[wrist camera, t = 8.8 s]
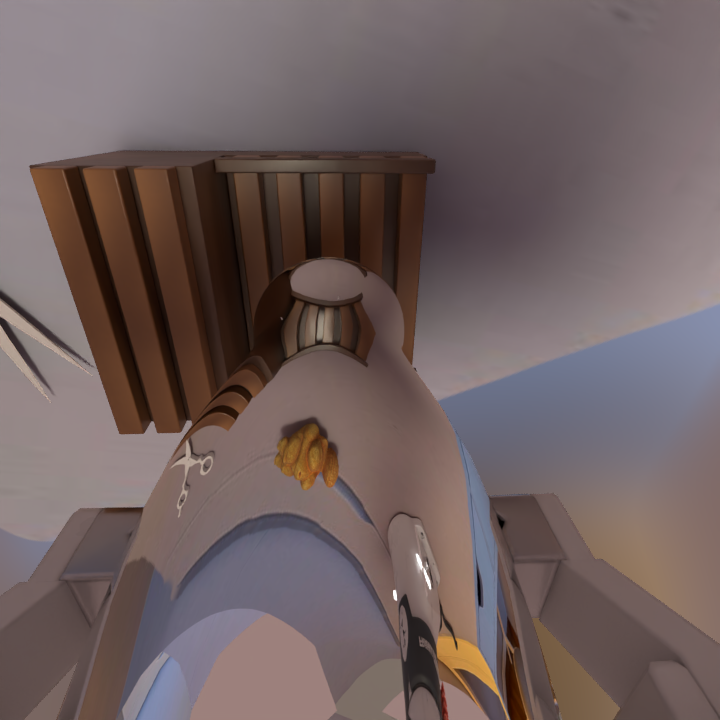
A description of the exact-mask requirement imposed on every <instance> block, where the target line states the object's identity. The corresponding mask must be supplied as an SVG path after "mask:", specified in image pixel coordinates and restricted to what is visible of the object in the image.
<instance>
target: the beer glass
mask: <svg viewBox="0 0 720 720" xmlns="http://www.w3.org/2000/svg"><path fill="white" fill-rule="evenodd" d="M253 335H254V348H253V349H252V351H251V352H250V353H249V355H248V356H247V357H246V358H245V359H244V360H243V362H242V363H241V364H240V365H239V366H238V367H237V369H236V370H235V371H234V372H233V373H232V374H231V376H230V377H229V378H228V379H227V380H226V382H225V383H224V384H223V385H222V387H221V388H220V389H219V390H218V391H217V393H216V394H215V395H214V396H213V398H212V399H211V400H210V401H209V402H208V404H207V405H206V406H205V408H204V409H203V410H202V412H201V413H200V415H199V416H198V418H197V419H196V420H195V422H194V423H193V425H192V426H191V428H190V429H189V430H188V432H187V433H186V435H185V436H184V438H183V439H182V440H181V442H180V443H179V445H178V446H177V448H176V449H175V451H174V453H173V454H172V456H171V458H170V460H169V462H168V464H167V465H166V467H165V469H164V471H163V473H162V475H161V477H160V478H159V480H158V482H157V484H156V486H155V488H154V490H153V491H152V493H151V495H150V497H149V499H148V501H147V503H146V504H145V506H144V508H143V510H142V512H141V514H140V517H139V519H138V521H137V523H136V525H135V528H134V530H133V532H132V534H131V537H130V539H129V541H128V543H127V546H126V548H125V550H124V552H123V554H122V557H121V559H120V561H119V563H118V566H117V568H116V570H115V572H114V574H113V577H112V579H111V581H110V583H109V586H108V588H107V591H106V593H105V596H104V598H103V601H102V603H101V606H100V608H99V611H98V613H97V616H96V618H95V621H94V623H93V626H92V628H91V631H90V633H89V636H88V638H87V641H86V643H85V646H84V648H83V651H82V653H81V656H80V658H79V661H78V663H77V666H76V669H75V671H74V674H73V677H72V679H71V682H70V685H69V688H68V690H67V693H66V695H65V698H64V700H63V703H62V706H61V708H60V711H59V714H58V716H57V719H56V720H562V717H561V714H560V711H559V707H558V704H557V700H556V697H555V693H554V690H553V687H552V683H551V680H550V676H549V673H548V670H547V666H546V663H545V659H544V656H543V653H542V649H541V647H540V643H539V640H538V637H537V634H536V630H535V627H534V624H533V621H532V618H531V614H530V611H529V608H528V605H527V602H526V598H525V595H524V592H523V589H522V586H521V582H520V579H519V576H518V573H517V571H516V568H515V565H514V562H513V560H512V557H511V554H510V551H509V549H508V546H507V543H506V540H505V537H504V535H503V532H502V529H501V526H500V524H499V521H498V518H497V515H496V513H495V510H494V508H493V506H492V503H491V501H490V499H489V497H488V494H487V492H486V490H485V488H484V485H483V483H482V481H481V479H480V477H479V474H478V472H477V470H476V467H475V465H474V463H473V461H472V459H471V457H470V454H469V453H468V451H467V449H466V447H465V446H464V444H463V442H462V441H461V439H460V438H459V436H458V434H457V432H456V431H455V429H454V427H453V426H452V424H451V422H450V420H449V419H448V417H447V415H446V414H445V412H444V410H443V409H442V407H441V406H440V405H439V403H438V402H437V400H436V399H435V397H434V396H433V395H432V393H431V392H430V390H429V389H428V387H427V386H426V385H425V383H424V382H423V380H422V379H421V378H420V376H419V375H418V373H417V372H416V371H415V369H414V368H413V367H412V365H411V364H410V362H409V361H408V359H407V358H406V356H405V355H404V353H403V344H404V318H403V313H402V309H401V306H400V303H399V301H398V299H397V297H396V295H395V293H394V291H393V290H392V288H391V287H390V286H389V285H388V283H387V282H386V281H385V280H384V279H383V278H382V277H381V276H379V275H378V274H377V273H376V272H374V271H373V270H371V269H370V268H368V267H366V266H364V265H362V264H360V263H357V262H355V261H351V260H348V259H343V258H336V257H321V258H314V259H309V260H305V261H302V262H299V263H297V264H295V265H293V266H291V267H289V268H287V269H286V270H284V271H283V272H281V273H280V274H279V275H278V276H276V277H275V278H274V279H273V280H272V282H271V283H270V284H269V285H268V287H267V288H266V289H265V291H264V292H263V294H262V296H261V298H260V300H259V302H258V305H257V308H256V312H255V317H254V327H253Z"/></svg>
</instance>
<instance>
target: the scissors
mask: <svg viewBox="0 0 720 720" xmlns="http://www.w3.org/2000/svg"><path fill="white" fill-rule="evenodd" d="M0 317H2V318H3V319H5V320H6V321H8V322H9V323H11V324H12V325H14V326H15V327H17V328H19V329H20V330H22V331H23V332H25V333H26V334H28V335H29V336H31V337H32V338H34V339H35V340H37V341H39V342H40V343H42V344H43V345H45V346H46V347H48V348H50V349H51V350H53V351H54V352H56V353H57V354H59V355H61V356H62V357H64V358H65V359H67V360H68V361H70V362H71V363H73V364H75V365H76V366H78V367H79V368H81V369H82V370H84V371H86V370H85V369H84V368H83V367H82V366H81V365H79V364H78V363H77V362H76V361H75V360H74V359H72V358H71V357H70V356H69V355H68V354H67V353H65V352H64V351H63V350H62V349H61V348H60V347H58V346H57V345H56V344H55V343H54V342H52V341H51V340H50V339H49V338H48V337H47V336H45V335H44V334H43V333H42V332H41V331H40V330H38V329H37V328H36V327H35V326H34V325H32V324H31V323H30V322H29V321H28V320H26V319H25V318H24V317H23V316H22V315H20V314H19V313H18V312H17V311H16V310H14V309H13V308H12V307H11V306H9V305H8V304H7V303H6V302H5V301H3V300H2V299H1V298H0ZM0 347H1V348H2V349H3V350H4V351H5V353H6V354H7V355H8V356H9V357H10V358H11V359H12V360H13V362H14V363H15V364H16V365H17V366H18V367H19V369H20V370H21V371H22V372H23V373H24V374H25V376H26V377H27V378H28V379H29V380H30V381H31V383H32V384H33V385H34V386H35V387H36V388H37V389H38V390H39V391H40V392H41V393H42V394H43V395H44V396H45V397H46V398H47V399H48V400H49V398H48V397H47V395H46V394H45V392H44V391H43V389H42V388H41V386H40V384H39V383H38V381H37V380H36V378H35V377H34V375H33V374H32V372H31V371H30V369H29V368H28V366H27V364H26V363H25V361H24V360H23V358H22V357H21V355H20V354H19V352H18V351H17V350H16V348H15V347H14V345H13V344H12V342H11V341H10V339H9V338H8V336H7V335H6V333H5V332H4V330H3V328H2V327H1V325H0ZM86 372H87V373H89V372H88V371H86ZM89 374H90V373H89ZM90 375H91V374H90ZM49 401H50V400H49ZM50 402H51V401H50Z"/></svg>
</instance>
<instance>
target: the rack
mask: <svg viewBox="0 0 720 720" xmlns="http://www.w3.org/2000/svg"><path fill="white" fill-rule="evenodd" d="M435 163H436V161H435V160H434V159H432V158H428V157H427V156H425V155H423V154H421V153H419V152H317V151H235V152H234V151H116V152H109V153H103V154H97V155H91V156H85V157H78V158H72V159H66V160H60V161H54V162H47V163H41V164H35V165H30V166H29V167H30V172H31V175H32V178H33V181H34V184H35V186H36V189H37V192H38V195H39V198H40V201H41V204H42V207H43V210H44V213H45V216H46V219H47V222H48V225H49V228H50V231H51V234H52V237H53V239H54V242H55V245H56V248H57V251H58V254H59V257H60V260H61V263H62V266H63V269H64V272H65V275H66V278H67V281H68V284H69V287H70V290H71V292H72V295H73V298H74V301H75V304H76V307H77V310H78V313H79V316H80V319H81V322H82V325H83V328H84V331H85V334H86V337H87V340H88V343H89V345H90V348H91V351H92V354H93V357H94V360H95V363H96V366H97V369H98V372H99V375H100V378H101V381H102V384H103V387H104V390H105V393H106V395H107V398H108V401H109V404H110V407H111V410H112V413H113V416H114V419H115V422H116V425H117V428H118V431H119V434H143V433H144V432H145V431H146V429H147V428H148V426H149V424H150V423H151V421H154V423H155V427H156V430H157V433H180V432H181V431H182V429H183V427H184V425H185V423H186V421H187V420H191V421H192V425H193V423H194V422H195V420H196V419H197V418H198V416H199V415H200V413H201V412H202V410H203V409H204V408H205V406H206V405H207V404H208V402H209V401H210V400H211V399H212V398H213V396H214V395H215V394H216V393H217V391H218V390H219V389H220V388H221V387H222V385H223V384H224V383H225V382H226V380H227V379H228V378H229V377H230V376H231V374H232V373H233V372H234V371H235V370H236V369H237V367H238V366H239V365H240V364H241V363H242V362H243V360H244V359H245V358H246V357H247V356H248V355H249V353H250V352H251V351H252V349H253V348H254V335H253V327H254V317H255V312H256V308H257V305H258V302H259V300H260V298H261V296H262V294H263V292H264V291H265V289H266V288H267V287H268V285H269V284H270V283H271V282H272V280H273V279H274V278H275V277H276V276H278V275H279V274H280V273H281V272H283V271H284V270H286V269H287V268H289V267H291V266H293V265H295V264H297V263H299V262H302V261H305V260H309V259H314V258H321V257H336V258H343V259H348V260H351V261H355V262H357V263H360V264H362V265H364V266H366V267H368V268H370V269H371V270H373V271H374V272H376V273H377V274H378V275H379V276H381V277H382V278H383V279H384V280H385V281H386V282H387V283H388V285H389V286H390V287H391V288H392V290H393V291H394V293H395V295H396V297H397V299H398V301H399V303H400V306H401V309H402V313H403V318H404V344H403V353H404V355H405V356H406V358H407V359H408V361H409V362H410V364H411V365H412V360H413V348H414V335H415V322H416V309H417V296H418V283H419V270H420V257H421V245H422V232H423V219H424V206H425V193H426V180H427V174H433V173H434V172H435ZM414 369H415V371H416V368H414ZM416 372H417V371H416Z"/></svg>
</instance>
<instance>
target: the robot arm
mask: <svg viewBox="0 0 720 720" xmlns="http://www.w3.org/2000/svg"><path fill="white" fill-rule="evenodd" d="M488 497H489V499H490V501H491V503H492V506H493V508H494V510H495V513H496V515H497V518H498V521H499V524H500V526H501V529H502V532H503V535H504V537H505V540H506V543H507V546H508V549H509V551H510V554H511V557H512V560H513V562H514V565H515V568H516V571H517V573H518V576H519V579H520V582H521V586H522V589H523V592H524V595H525V598H526V602H527V605H528V608H529V611H530V614H531V618H540V619H539V620H540V622H541V623H542V624H543V625H544V626H545V627H546V628H547V629H548V630H549V631H550V632H551V633H552V635H553V636H554V637H555V638H556V639H557V640H558V641H559V642H560V643H561V644H562V645H563V646H564V648H565V649H566V650H567V651H568V652H569V653H570V654H571V655H572V656H573V657H574V658H575V659H576V660H577V662H578V663H579V664H580V665H581V666H582V667H583V668H584V669H585V670H586V671H587V672H588V674H589V675H590V676H591V677H592V678H593V679H594V680H595V681H596V682H597V683H598V684H599V685H600V687H601V688H602V689H603V690H604V691H605V692H606V693H607V694H608V695H609V696H610V697H611V698H612V700H613V701H614V702H615V703H616V704H617V705H618V706H619V707H620V710H619V712H618V713H617V715H616V716H615V718H614V720H720V644H719V643H717V642H716V641H715V640H713V639H712V638H711V637H709V636H708V635H706V634H705V633H704V632H702V631H701V630H700V629H698V628H697V627H695V626H694V625H693V624H691V623H690V622H689V621H687V620H686V619H684V618H683V617H682V616H680V615H678V614H677V613H676V612H675V611H673V610H672V609H671V608H669V607H668V606H666V605H665V604H664V603H662V602H661V601H660V600H658V599H657V598H655V597H654V596H653V595H651V594H650V593H648V592H647V591H646V590H644V589H643V588H642V587H640V586H639V585H637V584H636V583H635V582H633V581H632V580H630V579H629V578H628V577H626V576H625V575H624V574H622V573H621V572H619V571H618V570H617V569H615V568H614V567H613V566H611V565H610V564H608V563H607V562H606V561H604V560H603V559H595V558H594V557H593V555H592V553H591V552H590V550H589V548H588V546H587V545H586V543H585V541H584V540H583V538H582V537H581V535H580V533H579V531H578V530H577V528H576V526H575V525H574V523H573V521H572V520H571V518H570V516H569V515H568V513H567V511H566V510H565V508H564V507H563V505H562V503H561V502H560V500H559V498H558V497H557V496H556V495H555V494H554V493H544V494H514V495H492V496H488ZM143 508H144V507H136V508H80V509H79V510H78V511H76V512H75V513H73V514H72V516H71V517H70V519H69V520H68V522H67V523H66V525H65V526H64V528H63V529H62V531H61V532H60V534H59V535H58V537H57V538H56V540H55V541H54V543H53V544H52V546H51V547H50V549H49V550H48V552H47V553H46V555H45V556H44V558H43V559H42V561H41V562H40V564H39V565H38V567H37V568H36V570H35V571H34V573H33V574H32V576H31V577H30V579H29V580H28V582H20V583H18V584H16V585H15V586H14V587H12V588H11V589H9V590H8V591H6V592H5V593H4V594H3V595H1V596H0V720H24V719H25V718H26V717H27V716H28V715H29V714H30V713H31V711H32V710H33V709H34V708H35V707H36V706H37V705H38V704H39V703H40V702H41V700H43V698H44V697H45V696H46V695H47V694H48V693H49V692H50V691H51V690H52V689H53V688H54V687H55V685H57V684H58V682H59V681H60V680H61V679H62V678H63V677H64V676H65V675H66V674H67V673H68V672H69V671H70V670H71V668H72V667H73V666H74V665H75V664H76V663H77V662H78V661H79V658H80V656H81V653H82V651H83V648H84V646H85V643H86V641H87V638H88V636H89V633H90V631H91V628H92V626H93V623H94V621H95V618H96V616H97V613H98V611H99V608H100V606H101V603H102V601H103V598H104V596H105V593H106V591H107V588H108V586H109V583H110V581H111V579H112V577H113V574H114V572H115V570H116V568H117V566H118V563H119V561H120V559H121V557H122V554H123V552H124V550H125V548H126V546H127V543H128V541H129V539H130V537H131V534H132V532H133V530H134V528H135V525H136V523H137V521H138V519H139V517H140V514H141V512H142V510H143Z"/></svg>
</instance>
